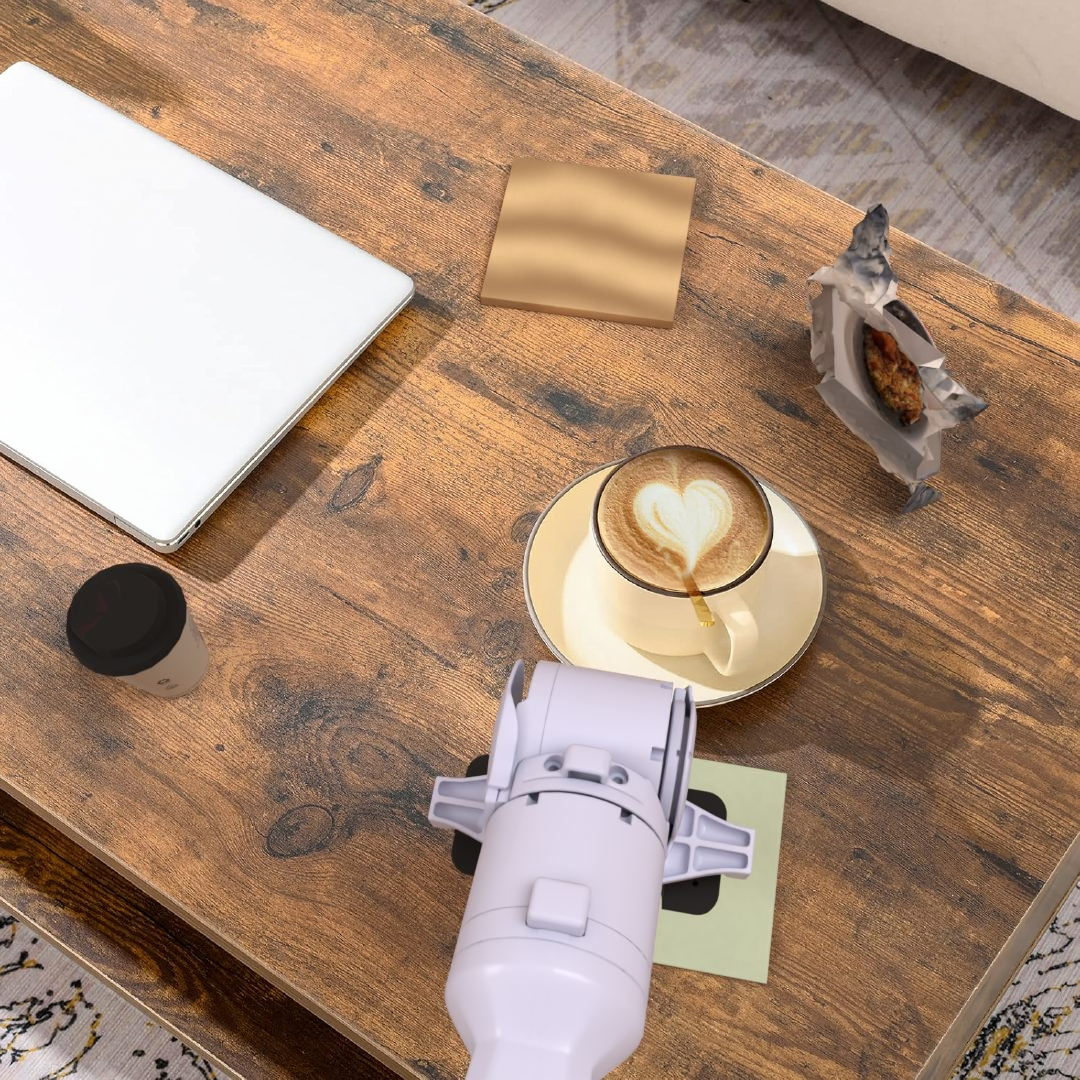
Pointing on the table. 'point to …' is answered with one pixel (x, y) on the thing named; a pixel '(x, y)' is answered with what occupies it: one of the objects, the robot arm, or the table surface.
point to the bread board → (590, 242)
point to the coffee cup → (137, 630)
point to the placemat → (732, 882)
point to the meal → (883, 362)
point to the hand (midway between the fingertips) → (589, 854)
